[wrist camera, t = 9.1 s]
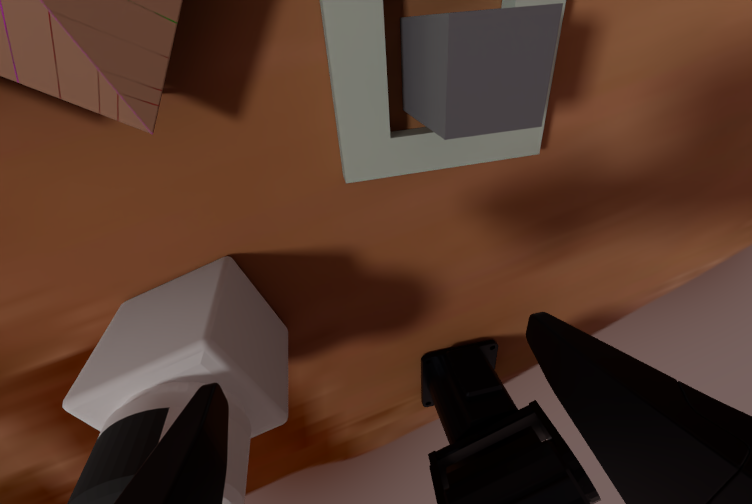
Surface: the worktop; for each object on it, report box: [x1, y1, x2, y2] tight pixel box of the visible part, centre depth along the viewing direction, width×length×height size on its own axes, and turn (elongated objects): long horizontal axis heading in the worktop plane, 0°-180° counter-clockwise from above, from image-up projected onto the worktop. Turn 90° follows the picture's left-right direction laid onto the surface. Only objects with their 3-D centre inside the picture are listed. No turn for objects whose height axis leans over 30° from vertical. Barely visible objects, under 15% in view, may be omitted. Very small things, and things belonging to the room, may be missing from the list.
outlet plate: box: [320, 0, 566, 183], centre depth 16 cm, size 14×11×2 cm
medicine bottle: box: [62, 256, 288, 504], centre depth 18 cm, size 7×7×12 cm
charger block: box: [400, 3, 563, 140], centre depth 15 cm, size 4×4×6 cm
